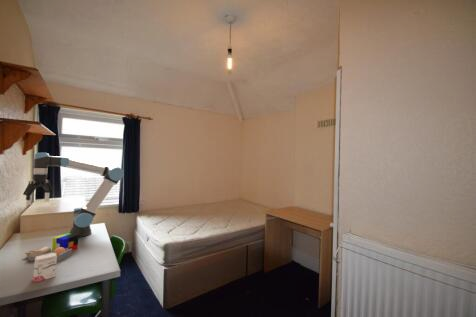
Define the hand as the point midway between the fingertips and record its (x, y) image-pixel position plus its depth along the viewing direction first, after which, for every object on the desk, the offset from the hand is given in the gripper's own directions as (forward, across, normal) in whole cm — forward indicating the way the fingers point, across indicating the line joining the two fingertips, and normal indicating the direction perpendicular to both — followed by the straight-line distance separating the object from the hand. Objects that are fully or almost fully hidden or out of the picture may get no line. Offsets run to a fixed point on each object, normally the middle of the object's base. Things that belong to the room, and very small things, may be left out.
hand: (38, 202), depth 150 cm
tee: (+32, +15, +12) cm, 37 cm away
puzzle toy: (+32, +4, +25) cm, 41 cm away
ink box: (+32, +38, +42) cm, 65 cm away
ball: (+28, +15, +30) cm, 44 cm away
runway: (+33, +15, +25) cm, 44 cm away
